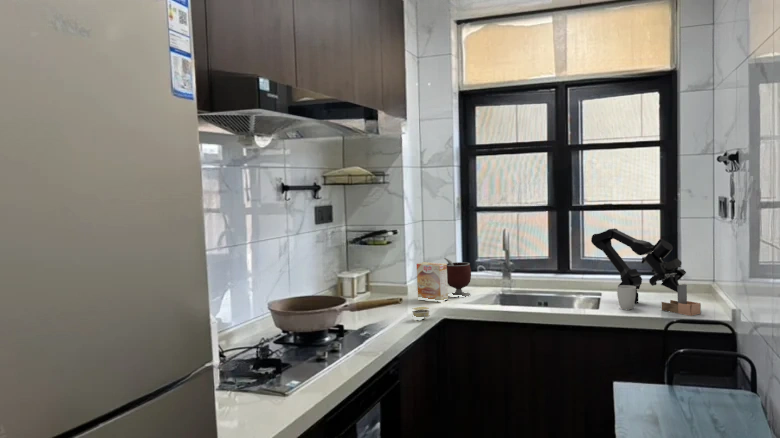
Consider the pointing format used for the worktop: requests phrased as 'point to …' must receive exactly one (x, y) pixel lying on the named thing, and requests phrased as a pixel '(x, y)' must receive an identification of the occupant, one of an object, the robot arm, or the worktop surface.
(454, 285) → the mate gourd
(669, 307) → the tray
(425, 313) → the stacked layers on plate
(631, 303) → the cup
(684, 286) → the plunger
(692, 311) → the cup
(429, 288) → the coffeecake box
